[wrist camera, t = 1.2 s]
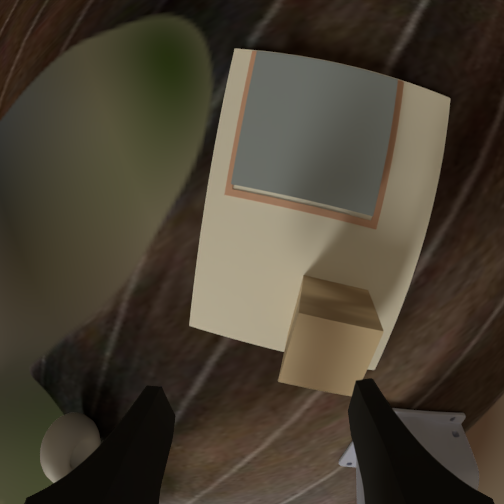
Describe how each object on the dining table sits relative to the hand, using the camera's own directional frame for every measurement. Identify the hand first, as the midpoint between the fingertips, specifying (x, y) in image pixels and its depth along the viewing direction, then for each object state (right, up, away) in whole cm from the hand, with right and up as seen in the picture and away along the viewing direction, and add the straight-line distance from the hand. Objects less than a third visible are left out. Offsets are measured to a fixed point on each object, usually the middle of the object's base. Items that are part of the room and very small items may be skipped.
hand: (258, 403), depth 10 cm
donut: (-19, -15, +18) cm, 30 cm away
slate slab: (+3, +12, +5) cm, 13 cm away
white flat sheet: (+4, +8, +7) cm, 11 cm away
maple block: (+4, +2, +8) cm, 9 cm away
